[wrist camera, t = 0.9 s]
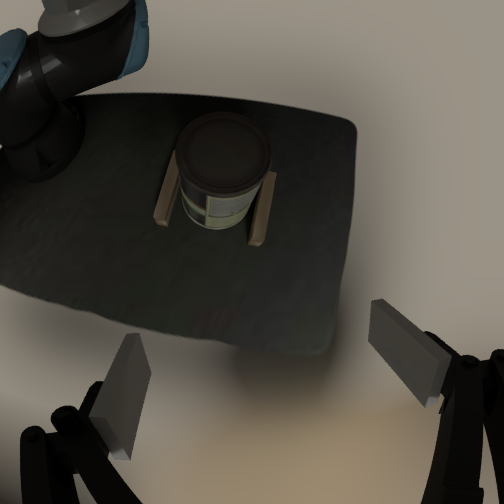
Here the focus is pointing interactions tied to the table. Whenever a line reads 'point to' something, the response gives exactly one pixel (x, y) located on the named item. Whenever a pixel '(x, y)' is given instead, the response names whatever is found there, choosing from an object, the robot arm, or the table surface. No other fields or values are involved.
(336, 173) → the table surface
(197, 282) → the table surface
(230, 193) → the coffee can
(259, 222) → the chute
